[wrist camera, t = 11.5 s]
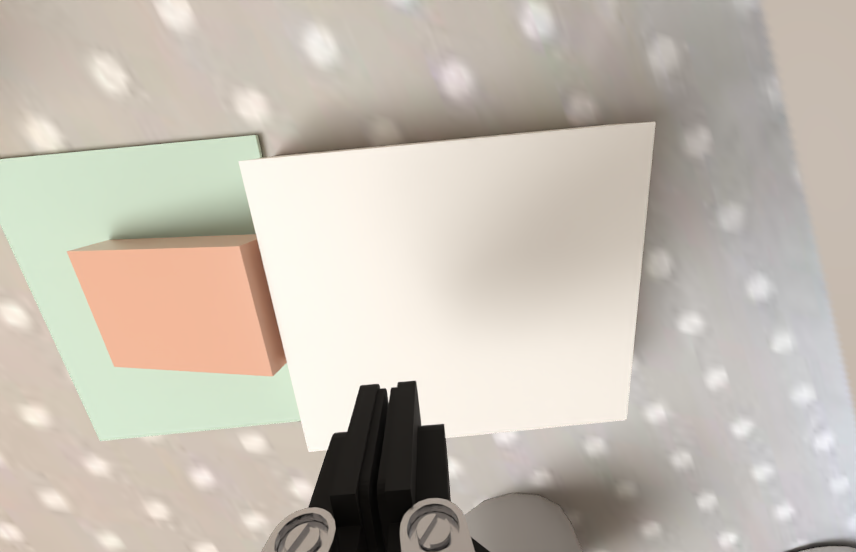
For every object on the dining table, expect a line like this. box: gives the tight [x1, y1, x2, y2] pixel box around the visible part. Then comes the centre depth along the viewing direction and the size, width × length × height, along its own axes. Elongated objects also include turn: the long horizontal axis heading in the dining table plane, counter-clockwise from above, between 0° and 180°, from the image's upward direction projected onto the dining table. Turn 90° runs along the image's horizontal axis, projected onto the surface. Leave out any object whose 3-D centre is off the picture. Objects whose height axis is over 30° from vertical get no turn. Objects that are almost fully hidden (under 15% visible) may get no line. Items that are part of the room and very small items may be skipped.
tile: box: [67, 234, 287, 376], centre depth 18 cm, size 9×6×2 cm, turn 95°
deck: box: [238, 122, 656, 452], centre depth 19 cm, size 16×14×4 cm
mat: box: [0, 135, 301, 441], centre depth 21 cm, size 13×16×1 cm
